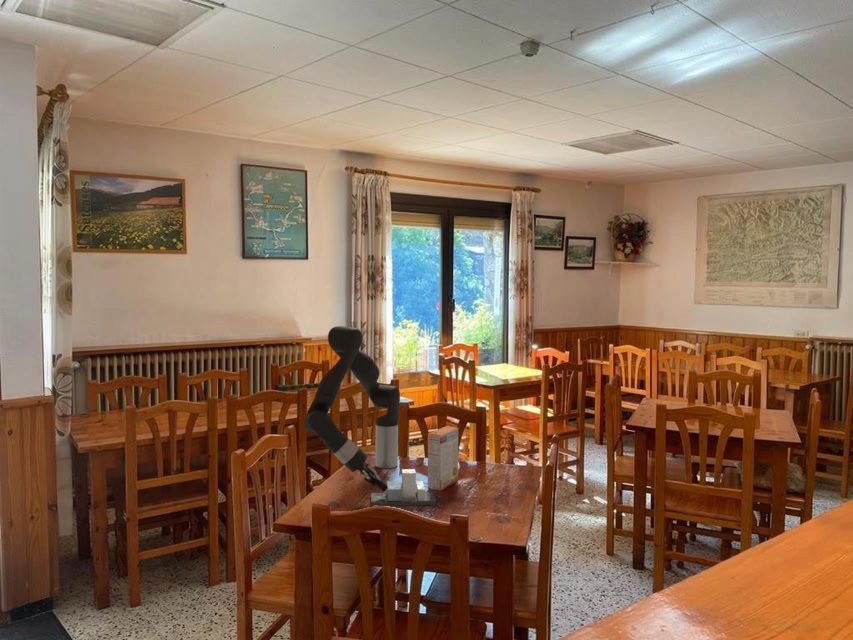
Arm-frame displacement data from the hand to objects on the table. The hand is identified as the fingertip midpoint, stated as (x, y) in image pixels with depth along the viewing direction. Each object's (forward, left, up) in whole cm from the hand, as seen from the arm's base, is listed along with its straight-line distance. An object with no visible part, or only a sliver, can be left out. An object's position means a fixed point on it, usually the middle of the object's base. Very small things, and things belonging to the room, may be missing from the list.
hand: (385, 489), depth 219 cm
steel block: (0, +8, -3) cm, 8 cm away
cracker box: (-16, +22, -5) cm, 28 cm away
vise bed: (0, +6, -4) cm, 7 cm away
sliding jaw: (0, +3, -3) cm, 4 cm away
